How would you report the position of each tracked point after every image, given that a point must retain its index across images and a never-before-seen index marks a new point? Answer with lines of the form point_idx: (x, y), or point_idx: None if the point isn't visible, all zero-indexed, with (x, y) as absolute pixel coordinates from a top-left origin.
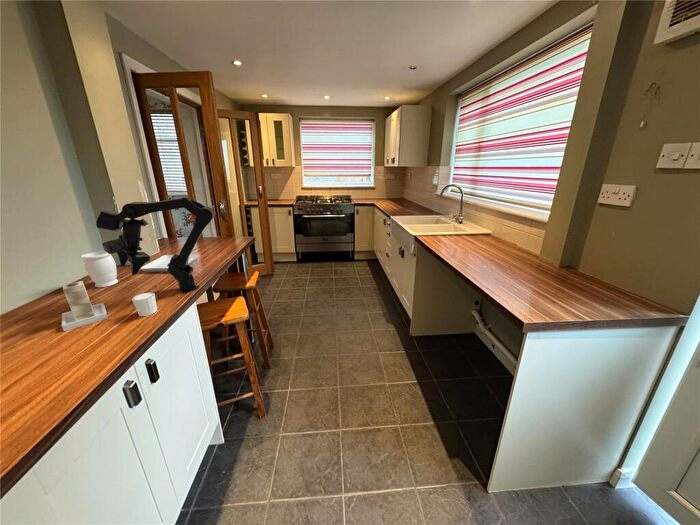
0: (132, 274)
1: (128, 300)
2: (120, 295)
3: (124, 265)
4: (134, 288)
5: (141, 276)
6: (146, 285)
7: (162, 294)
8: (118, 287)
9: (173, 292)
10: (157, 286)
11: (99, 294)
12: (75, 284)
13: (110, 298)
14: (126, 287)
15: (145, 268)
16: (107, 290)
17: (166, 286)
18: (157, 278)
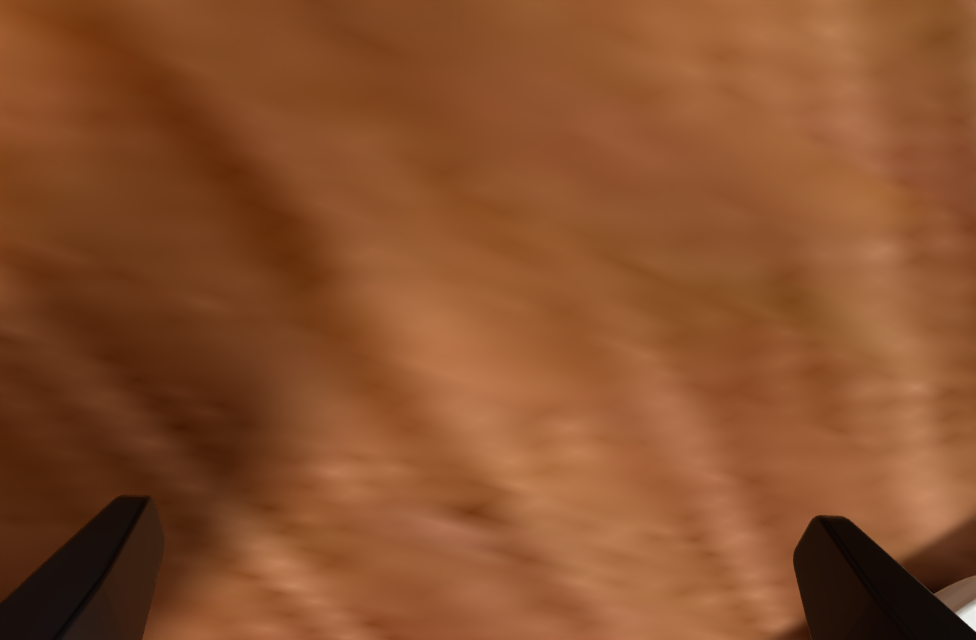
0: (109, 503)
1: (311, 126)
2: (611, 150)
3: (798, 583)
4: (660, 346)
5: (901, 510)
6: (609, 459)
7: (84, 478)
8: (877, 252)
9: (19, 582)
10: (448, 523)
11: (912, 18)
12: None
13: (642, 25)
14: (784, 305)
15: (967, 610)
16: (925, 137)
17: (340, 585)
18: (685, 591)
